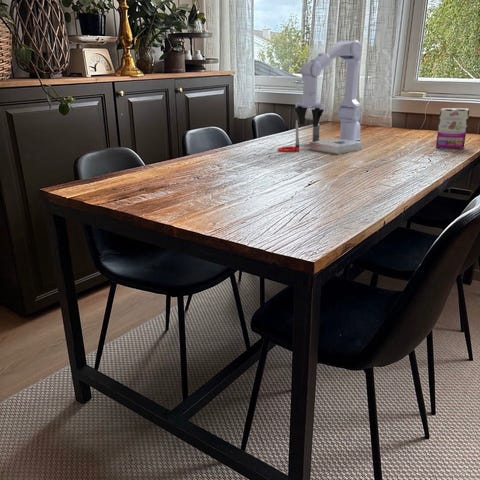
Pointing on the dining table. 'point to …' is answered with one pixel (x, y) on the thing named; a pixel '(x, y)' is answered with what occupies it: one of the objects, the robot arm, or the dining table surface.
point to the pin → (316, 133)
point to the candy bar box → (452, 128)
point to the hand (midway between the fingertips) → (308, 125)
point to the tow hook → (295, 144)
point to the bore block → (336, 145)
